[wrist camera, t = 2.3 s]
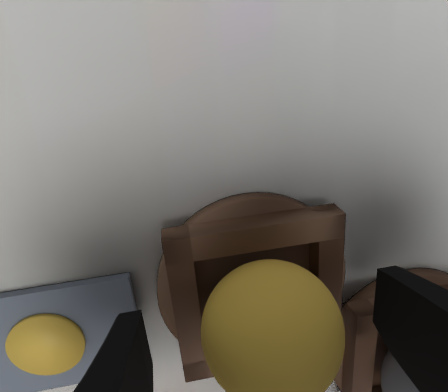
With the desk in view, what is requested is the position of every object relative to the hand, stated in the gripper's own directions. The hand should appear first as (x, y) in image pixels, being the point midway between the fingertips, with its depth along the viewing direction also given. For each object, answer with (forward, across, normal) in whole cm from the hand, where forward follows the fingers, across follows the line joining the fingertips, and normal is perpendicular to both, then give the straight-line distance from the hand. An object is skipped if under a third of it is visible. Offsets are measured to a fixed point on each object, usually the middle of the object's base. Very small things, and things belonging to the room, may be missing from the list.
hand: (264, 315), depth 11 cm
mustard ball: (-1, 0, 0) cm, 1 cm away
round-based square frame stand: (+2, 0, 0) cm, 2 cm away
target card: (+2, +7, +1) cm, 7 cm away
